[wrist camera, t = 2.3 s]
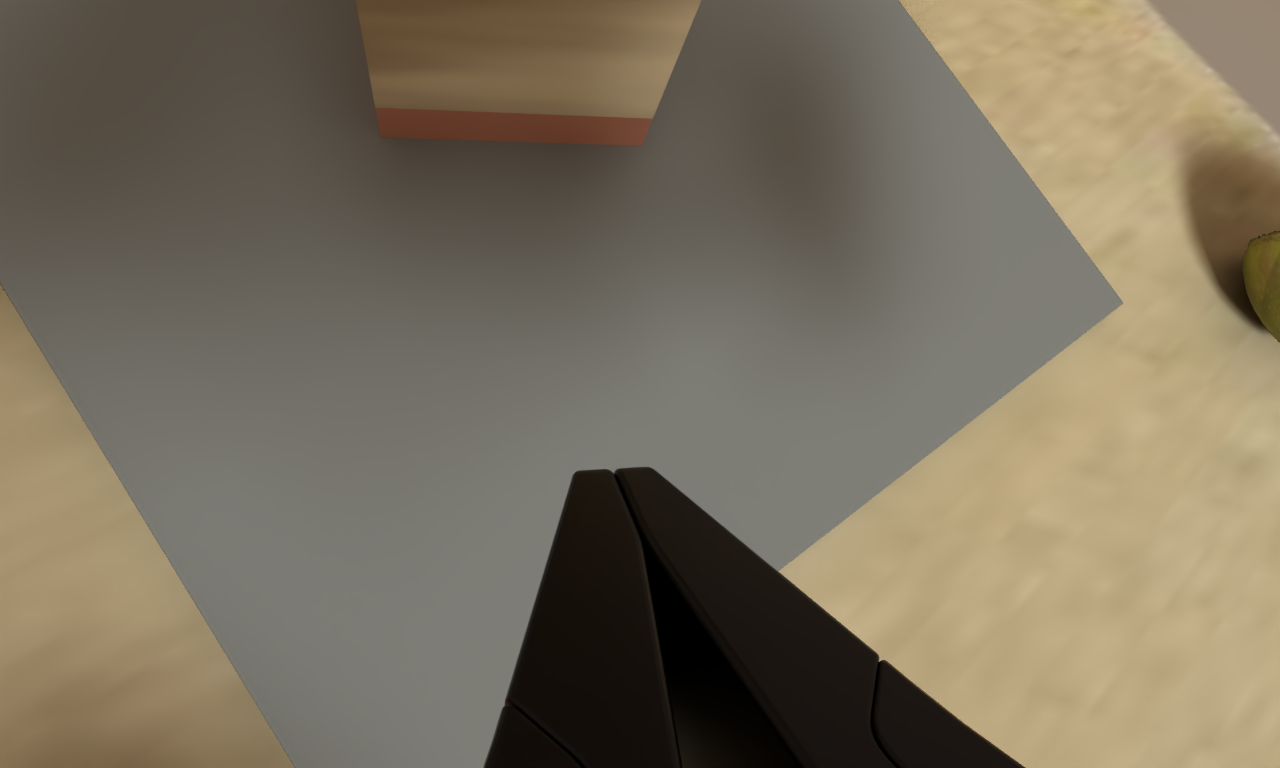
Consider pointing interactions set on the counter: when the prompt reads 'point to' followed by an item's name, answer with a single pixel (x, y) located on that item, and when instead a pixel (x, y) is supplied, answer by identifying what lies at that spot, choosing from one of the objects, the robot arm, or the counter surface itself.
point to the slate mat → (496, 320)
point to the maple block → (521, 67)
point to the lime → (1264, 279)
